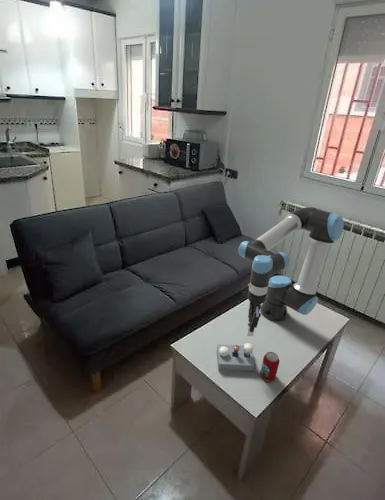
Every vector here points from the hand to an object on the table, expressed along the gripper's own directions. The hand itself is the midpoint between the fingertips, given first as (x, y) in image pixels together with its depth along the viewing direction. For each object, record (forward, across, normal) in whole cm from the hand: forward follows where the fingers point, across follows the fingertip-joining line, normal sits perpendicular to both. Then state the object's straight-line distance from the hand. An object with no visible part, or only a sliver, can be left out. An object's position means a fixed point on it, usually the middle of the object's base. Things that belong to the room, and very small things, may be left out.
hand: (249, 335), depth 138 cm
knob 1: (+14, 0, -11) cm, 18 cm away
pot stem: (+12, 0, -5) cm, 13 cm away
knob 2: (+12, 0, 0) cm, 12 cm away
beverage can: (+16, +8, +9) cm, 20 cm away
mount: (+16, 0, -5) cm, 17 cm away
